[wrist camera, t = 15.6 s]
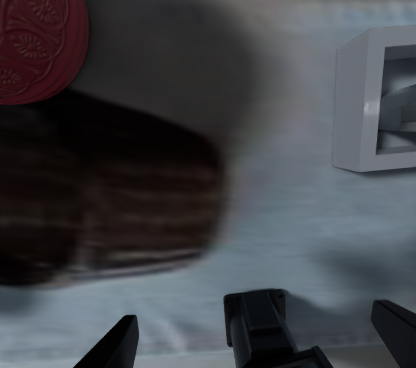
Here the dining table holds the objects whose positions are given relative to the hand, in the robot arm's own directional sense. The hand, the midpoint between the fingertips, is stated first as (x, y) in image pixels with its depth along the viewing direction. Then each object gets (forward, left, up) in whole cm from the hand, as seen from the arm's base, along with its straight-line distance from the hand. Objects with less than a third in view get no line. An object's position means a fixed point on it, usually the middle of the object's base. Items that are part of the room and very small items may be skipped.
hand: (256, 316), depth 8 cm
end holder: (+8, -16, -13) cm, 22 cm away
